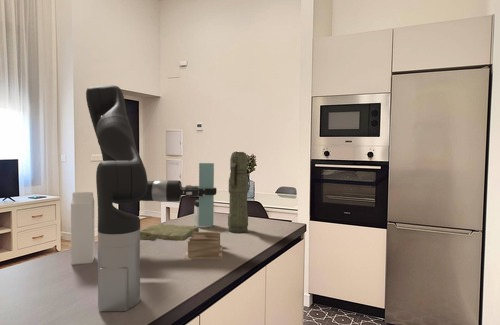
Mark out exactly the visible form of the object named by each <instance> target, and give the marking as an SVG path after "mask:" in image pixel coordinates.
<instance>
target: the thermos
mask: <svg viewBox="0 0 500 325" xmlns="http://www.w3.org/2000/svg"><path fill="white" fill-rule="evenodd" d="M229 167H230V168H229V169H230V173H229V178H228V194H229V203H228V204H229V207H228V208H229V212H228V215H227V226H228V232H229V233H232V234H245V233H248V230H249V229H248V227H249V214H248V193H249V176H248V156H247V153H246V152H245V151H233V152H232V153H231V155H230V159H229Z"/></svg>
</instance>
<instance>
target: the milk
mask: <svg viewBox="0 0 500 325" xmlns="http://www.w3.org/2000/svg"><path fill="white" fill-rule="evenodd" d="M95 228H96V227H95V198H94V192H92V191H85V192H83V191H80V192H79V191H77V192H72V198H71V202H70V244H71V245H70V247H71V248H70V251H71V252H70V255H71V256H70V257H71V258H70V261H71V262H70V263H71V264H70V265H73V266H74V265H82V264H83V265H84V264H92V263H93V262H94V259H95V255H96V254H95V253H96V251H95V247H96V246H95V240H96V239H95V237H96V236H95V232H96V231H95Z"/></svg>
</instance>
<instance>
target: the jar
mask: <svg viewBox="0 0 500 325" xmlns="http://www.w3.org/2000/svg"><path fill="white" fill-rule="evenodd" d="M193 207H194V208H193V226H196V227H198V228H200V229H201V228H203V229H205V228H211V227H212V226H199V199H196V200H194V206H193Z"/></svg>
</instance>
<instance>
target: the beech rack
mask: <svg viewBox="0 0 500 325" xmlns="http://www.w3.org/2000/svg"><path fill="white" fill-rule="evenodd" d="M193 236H217V238H193ZM223 247H224V244H223V243H222V244H221V231H199V232H192V234H191V235H190V237H189V241H187V251H186V253H185V256H184V260H186V259H187V260H189V259H190V260H191V259H194V260H195V259H204V260H205V259H222V257H223V249H224V248H223Z"/></svg>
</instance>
